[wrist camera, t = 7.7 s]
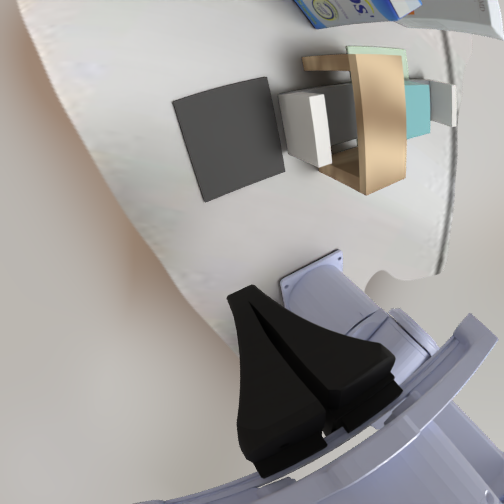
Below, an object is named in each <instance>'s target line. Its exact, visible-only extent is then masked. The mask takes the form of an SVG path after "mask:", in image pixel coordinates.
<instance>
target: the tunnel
mask: <svg viewBox="0 0 504 504" xmlns="http://www.w3.org/2000/svg"><path fill="white" fill-rule="evenodd" d="M302 61H303V66H304V71H316V70H334V71H351V78H352V85H353V93H354V102H355V111H356V122H357V135H358V147H355V148H351V149H348V150H345V151H342V152H339V153H335V154H332V155H331V156H332V163H331V164H328V165H325V166H322V167H320V168H319V172H321V173H323V174H325V175H327V176H329V177H331V178H333V179H335V180H337V181H339V182H341V183H343V184H345V185H347V186H349V187H351V188H353V189H355V190H357V191H358V192H360V193H362V194H364V195H369V194H371V193H373V192H375V191H378V190H380V189H382V188H384V187H386V186H389V185H391V184H393V183H395V182H398V181H400V180H402V179H404V178H405V176H406V146H407V130H406V100H405V86H404V75H403V65H402V57H401V56H399V55H382V54H338V55H321V56H309V57H302Z"/></svg>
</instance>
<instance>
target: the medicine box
mask: <svg viewBox="0 0 504 504" xmlns="http://www.w3.org/2000/svg"><path fill="white" fill-rule="evenodd" d="M294 1H295V2H296V3H297V5H298V6H299V7H300V8H301V10H302V11H303V12H304V14H305V15H306V16H307V18H308V19H309V20H310V21H311V23H312V24H313V26H314V27H315V28H316V29H323V28H329V27H335V26H342V25H350V24H360V23H371V22H385V21H399V20H400V19H401V18H403V17H404V16H406V15H407V14H409V13H410V12H412V11H414V10H415V9H417V8H418V7H420V6H422V5H423V4H422V2H421V0H294Z"/></svg>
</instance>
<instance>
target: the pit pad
mask: <svg viewBox="0 0 504 504" xmlns="http://www.w3.org/2000/svg"><path fill="white" fill-rule="evenodd" d="M173 104H174V107H175V110H176V114H177V117H178V120H179V123H180V127H181V130H182V133H183V136H184V139H185V143H186V146H187V149H188V152H189V155H190V158H191V161H192V165H193V168H194V171H195V174H196V177H197V180H198V183H199V186H200V189H201V192H202V195H203V198H204V201H205V203H206V202H208V201H211V200H213V199H215V198H218V197H220V196H223V195H225V194H228V193H230V192H233V191H235V190H238V189H240V188H243V187H245V186H248V185H251V184H253V183H256V182H258V181H261V180H264V179H266V178H269V177H272V176H275V175H277V174H280V173H283V172H285V167H284V161H283V156H282V150H281V145H280V139H279V134H278V129H277V123H276V118H275V113H274V108H273V103H272V99H271V94H270V89H269V84H268V80H267V77H263V78H258V79H253V80H248V81H244V82H240V83H235V84H231V85H227V86H223V87H220V88H216V89H212V90H209V91H205V92H202V93H198V94H195V95H192V96H189V97H186V98H182V99H179V100H176V101H174V102H173Z"/></svg>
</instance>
